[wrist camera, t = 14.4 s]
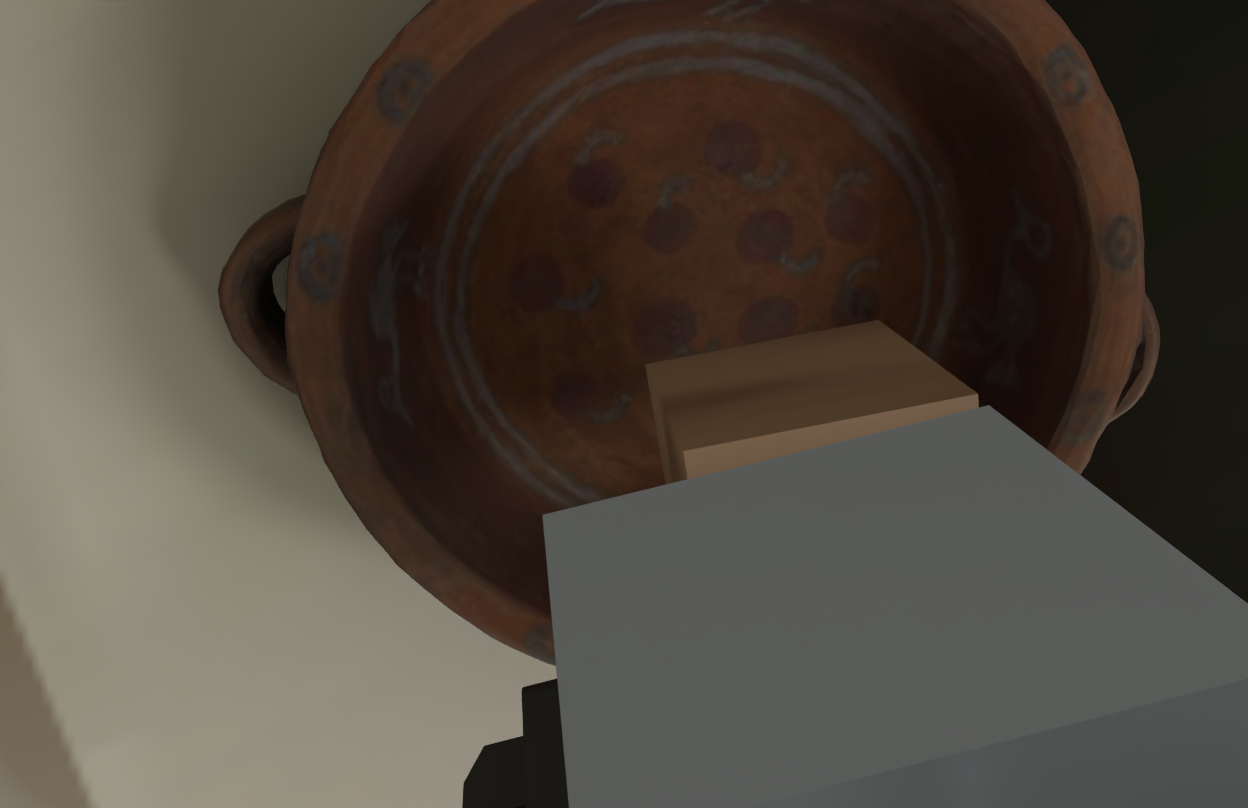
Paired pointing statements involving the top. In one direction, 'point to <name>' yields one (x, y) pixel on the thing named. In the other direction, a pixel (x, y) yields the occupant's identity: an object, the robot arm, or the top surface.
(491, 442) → the dish
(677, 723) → the grey block
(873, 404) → the walnut block
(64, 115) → the top surface
